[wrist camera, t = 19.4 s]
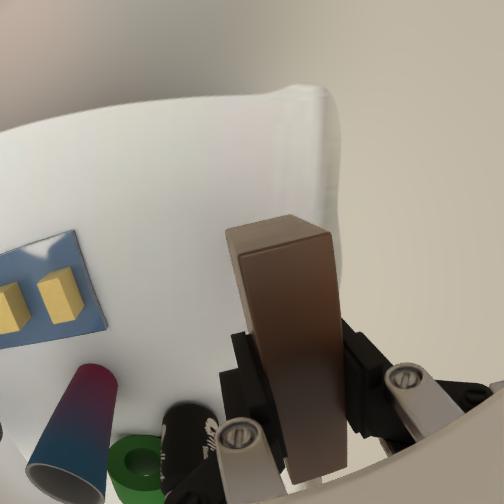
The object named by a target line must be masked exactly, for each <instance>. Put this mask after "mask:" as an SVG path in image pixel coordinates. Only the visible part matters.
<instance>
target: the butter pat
mask: <svg viewBox="0 0 504 504" xmlns="http://www.w3.org/2000/svg"><path fill="white" fill-rule="evenodd" d="M37 286H38V288H39V291H40V293H41V296H42V298H43V301H44V303H45V306H46V308H47V310H48V313H49V315H50V317H51V320H52V322H53V324H57V323H62V322H67V321H72V320H75V319H76V318H77V316H78V315H79V313H80V312H81V310H82V309H83V307H84V306H85V305H84V302H83V300H82V297H81V295H80V292H79V289H78V287H77V284H76V281H75V279H74V276H73V273H72V270H71V267H67V268H63V269H60V270H56V271H53V272H50V273H48V274H47V275H46V276H45V277H44V278H43V279H41V280H40V281H39V282H38V283H37Z"/></svg>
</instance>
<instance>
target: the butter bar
mask: <svg viewBox="0 0 504 504" xmlns="http://www.w3.org/2000/svg"><path fill="white" fill-rule="evenodd" d="M30 318H31V314H30V312H29V310H28V307H27V305H26V303H25V300H24V298H23V295H22V293H21V290H20V287H19V285H18V282H17V281H16V282H13V283H10V284H7V285H3V286H0V334H5V333H10V332H15V331H20V330H21V329H22V327H23V326H24V325H25V324H26V323H27V322H28V321H29V320H30Z"/></svg>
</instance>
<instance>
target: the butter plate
mask: <svg viewBox="0 0 504 504" xmlns="http://www.w3.org/2000/svg"><path fill="white" fill-rule="evenodd" d="M67 267H71V270H72V273H73V276H74V279H75V281H76V284H77V287H78V289H79V292H80V295H81V297H82V300H83V302H84V305H85V306H84V307H83V309H82V310H81V312H80V313H79V315H78V316H77V318H76V319H75V320H72V321H67V322H62V323H57V324H53V322H52V320H51V317H50V315H49V313H48V310H47V308H46V306H45V303H44V301H43V298H42V296H41V293H40V291H39V288H38V286H37V283H38V282H39V281H40V280H41V279H43V278H44V277H45V276H46V275H47V274H48V273H50V272H53V271H56V270H60V269H63V268H67ZM16 281H17V282H18V285H19V287H20V290H21V293H22V295H23V298H24V300H25V303H26V305H27V307H28V310H29V312H30V314H31V318H30V320H29V321H28V322H27V323H26V324H25V325H24V326H23V327H22V329H21V330H20V331H15V332H10V333H5V334H0V349H4V348H11V347H17V346H23V345H29V344H35V343H40V342H46V341H52V340H57V339H63V338H68V337H73V336H78V335H84V334H89V333H94V332H99V331H104V330H106V329H107V327H108V325H107V323H106V321H105V318H104V316H103V313H102V311H101V308H100V306H99V303H98V300H97V298H96V295H95V293H94V290H93V287H92V284H91V282H90V279H89V276H88V273H87V270H86V267H85V264H84V261H83V258H82V255H81V252H80V249H79V245H78V242H77V239H76V236H75V232H74V230H70V231H67V232H64V233H61V234H58V235H55V236H52V237H49V238H46V239H43V240H40V241H37V242H34V243H31V244H28V245H25V246H22V247H20V248H17V249H14V250H11V251H8V252H6V253H3V254H0V286H3V285H7V284H10V283H13V282H16Z"/></svg>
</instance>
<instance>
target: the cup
mask: <svg viewBox="0 0 504 504" xmlns="http://www.w3.org/2000/svg"><path fill="white" fill-rule="evenodd" d="M117 388H118V385H117V381H116V379H115V377H114V375H113V374H112V373H111V372H110V371H109V370H107V369H106V368H104V367H102V366H100V365H96V364H85V365H82V366H80V367H79V368H78V370H77V372H76V373H75V375H74V377H73V378H72V380H71V382H70V384H69V385H68V387H67V389H66V391H65V392H64V394H63V396H62V398H61V400H60V401H59V403H58V405H57V407H56V409H55V411H54V413H53V414H52V416H51V418H50V420H49V422H48V424H47V426H46V428H45V430H44V432H43V434H42V435H41V437H40V439H39V441H38V443H37V445H36V447H35V450H34V452H33V454H32V456H31V458H30V460H29V462H28V464H27V466H26V469H25V470H26V474H27V477H28V478H29V480H30V481H31V482H32V483H33V484H34V485H35V486H36V487H37V488H38V489H39V490H40V491H42V492H43V493H45V494H46V495H48V496H50V497H51V498H53V499H55V500H57V501H59V502H62V503H64V504H104V503H105V491H106V477H107V466H108V455H109V446H110V437H111V429H112V422H113V414H114V408H115V401H116V395H117Z"/></svg>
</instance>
